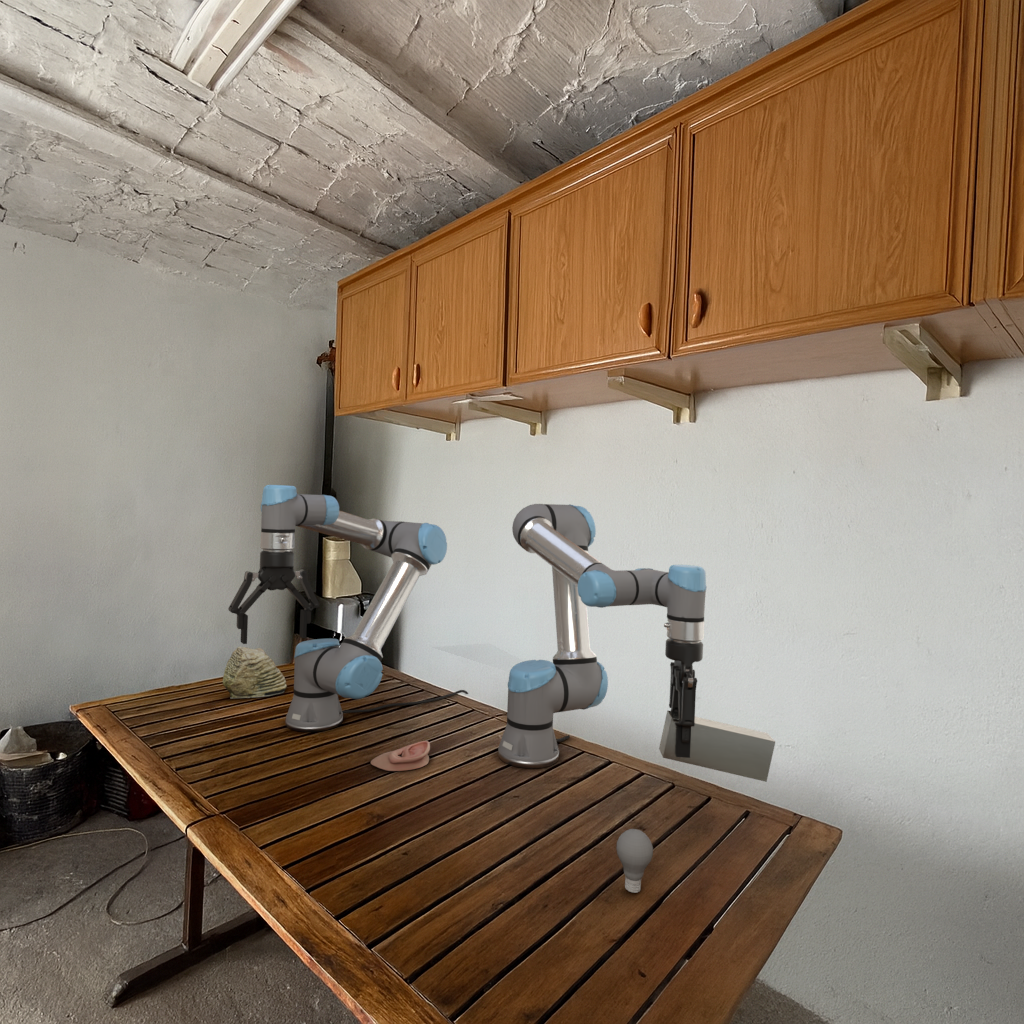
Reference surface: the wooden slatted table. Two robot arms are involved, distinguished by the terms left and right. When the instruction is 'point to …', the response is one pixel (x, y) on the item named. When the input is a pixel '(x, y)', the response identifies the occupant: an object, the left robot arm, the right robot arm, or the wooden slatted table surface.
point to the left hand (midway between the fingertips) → (274, 640)
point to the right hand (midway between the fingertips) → (679, 751)
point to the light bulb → (634, 857)
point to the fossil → (252, 674)
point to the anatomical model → (404, 757)
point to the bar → (721, 747)
